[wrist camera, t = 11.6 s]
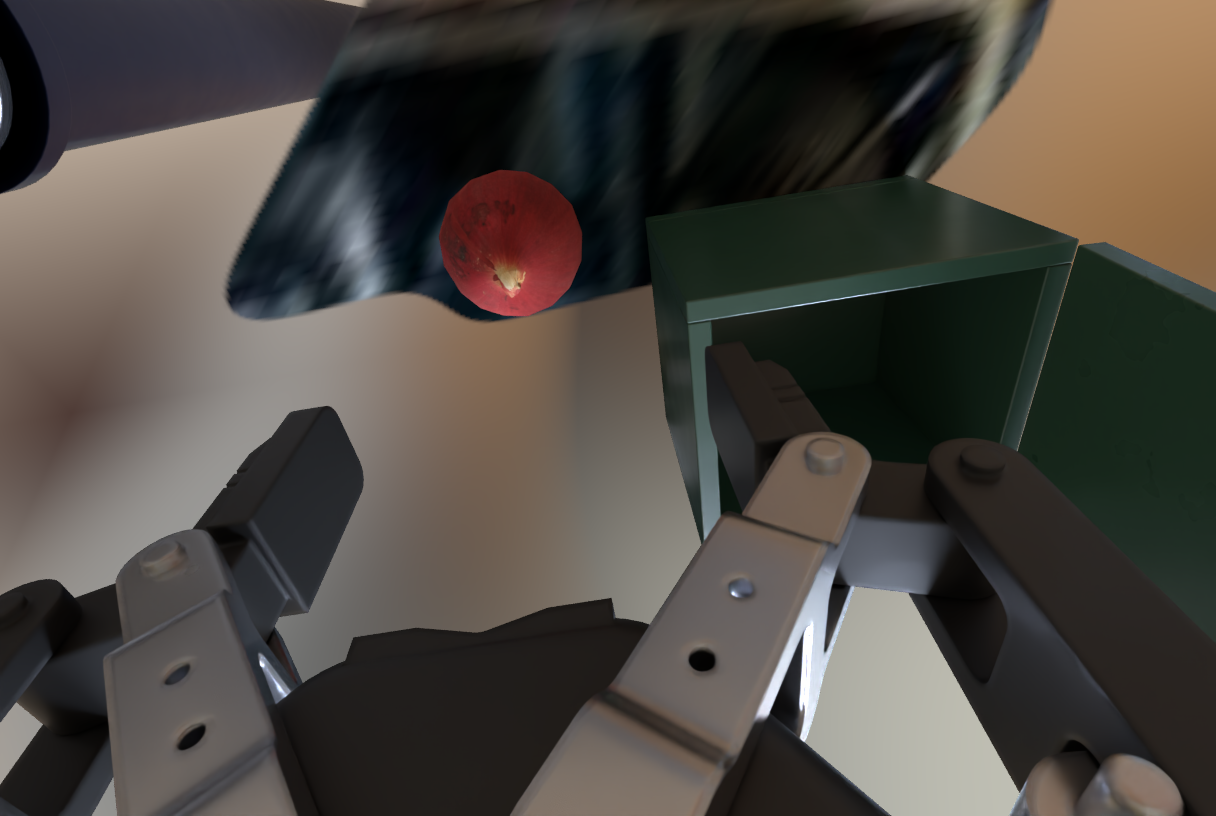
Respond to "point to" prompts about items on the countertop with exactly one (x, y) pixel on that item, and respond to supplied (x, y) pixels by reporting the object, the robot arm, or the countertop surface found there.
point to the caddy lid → (1135, 418)
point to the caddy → (858, 316)
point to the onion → (511, 242)
